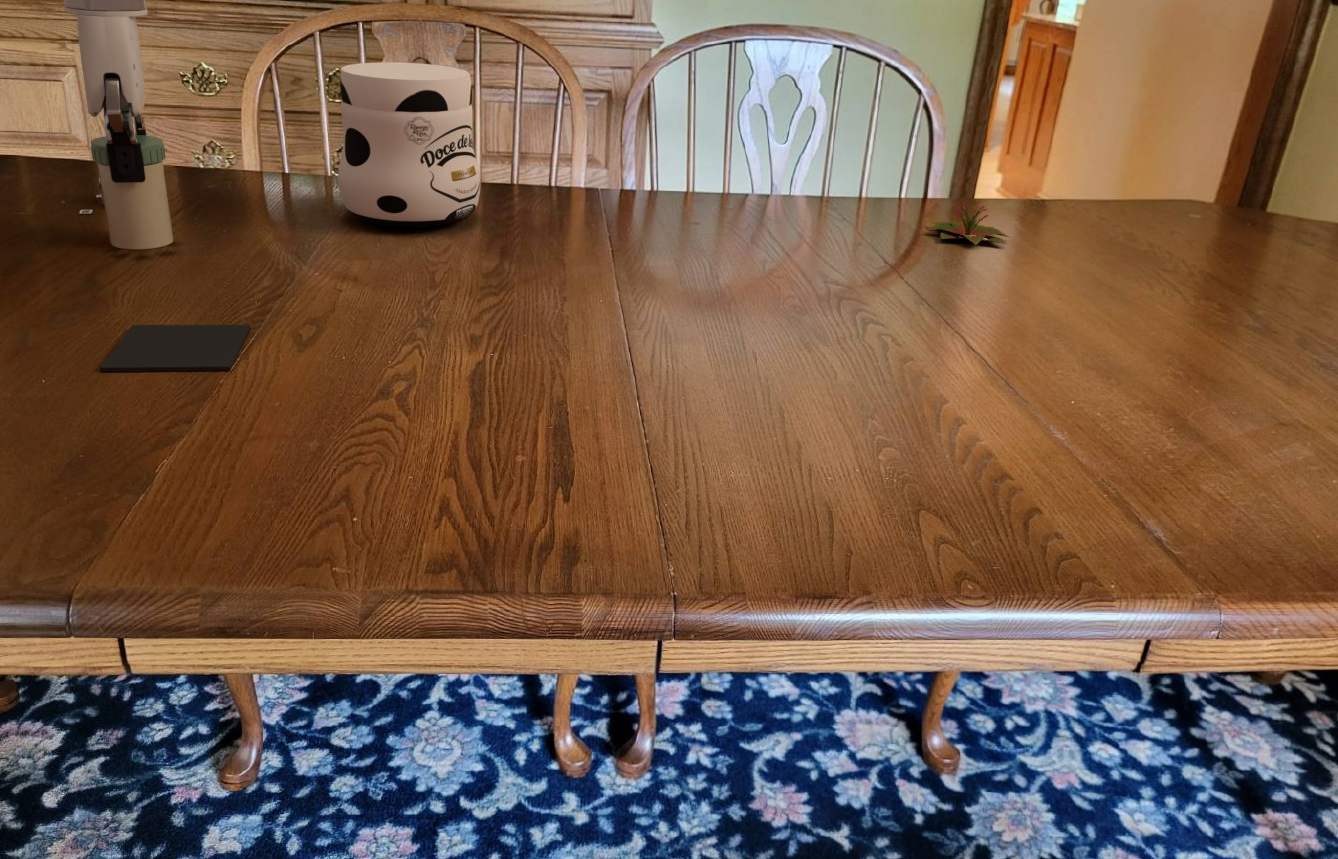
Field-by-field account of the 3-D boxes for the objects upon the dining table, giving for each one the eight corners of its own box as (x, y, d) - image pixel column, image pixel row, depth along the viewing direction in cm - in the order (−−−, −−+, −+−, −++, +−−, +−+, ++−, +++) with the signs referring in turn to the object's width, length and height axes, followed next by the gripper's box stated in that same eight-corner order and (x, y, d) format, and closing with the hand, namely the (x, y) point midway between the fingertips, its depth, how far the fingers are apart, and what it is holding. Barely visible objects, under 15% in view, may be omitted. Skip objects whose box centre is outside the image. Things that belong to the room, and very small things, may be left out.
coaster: (99, 372, 86) (99, 367, 85) (132, 328, 94) (132, 324, 94) (230, 370, 88) (229, 366, 87) (250, 328, 96) (250, 324, 96)
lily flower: (1001, 230, 149) (1008, 197, 147) (1021, 253, 138) (1028, 218, 136) (916, 222, 149) (922, 190, 147) (929, 245, 139) (935, 211, 137)
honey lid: (84, 164, 110) (81, 146, 109) (104, 151, 117) (101, 133, 116) (156, 166, 112) (154, 148, 111) (172, 153, 118) (169, 135, 117)
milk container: (484, 237, 128) (483, 84, 121) (336, 236, 125) (325, 78, 117) (477, 202, 144) (475, 64, 136) (345, 200, 140) (335, 58, 132)
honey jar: (103, 249, 115) (86, 150, 110) (119, 233, 120) (104, 138, 116) (166, 250, 116) (152, 152, 111) (179, 234, 121) (166, 140, 117)
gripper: (74, -11, 113) (101, 157, 121) (50, 4, 99) (84, 193, 106) (151, -7, 116) (173, 156, 123) (139, 7, 101) (165, 192, 109)
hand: (131, 172), depth 115 cm, fingers closed on honey lid, 7 cm apart
